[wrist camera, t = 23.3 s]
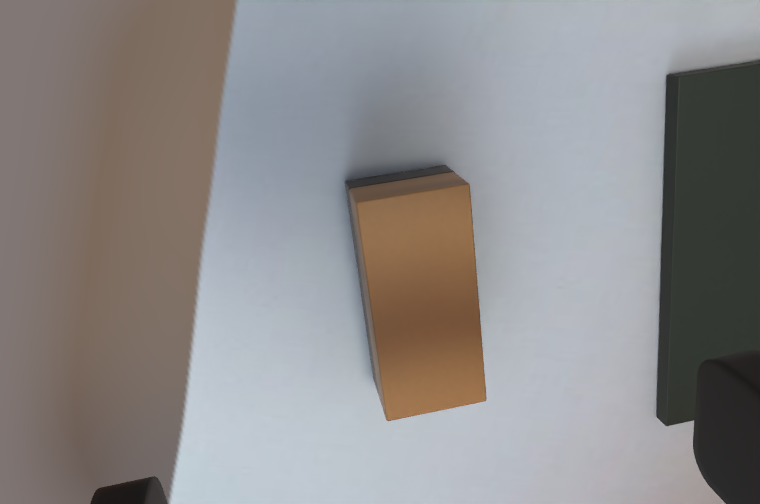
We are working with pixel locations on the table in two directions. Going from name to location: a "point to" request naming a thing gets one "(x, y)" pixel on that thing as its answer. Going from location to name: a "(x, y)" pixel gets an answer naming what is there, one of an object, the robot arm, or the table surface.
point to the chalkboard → (708, 228)
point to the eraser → (419, 289)
